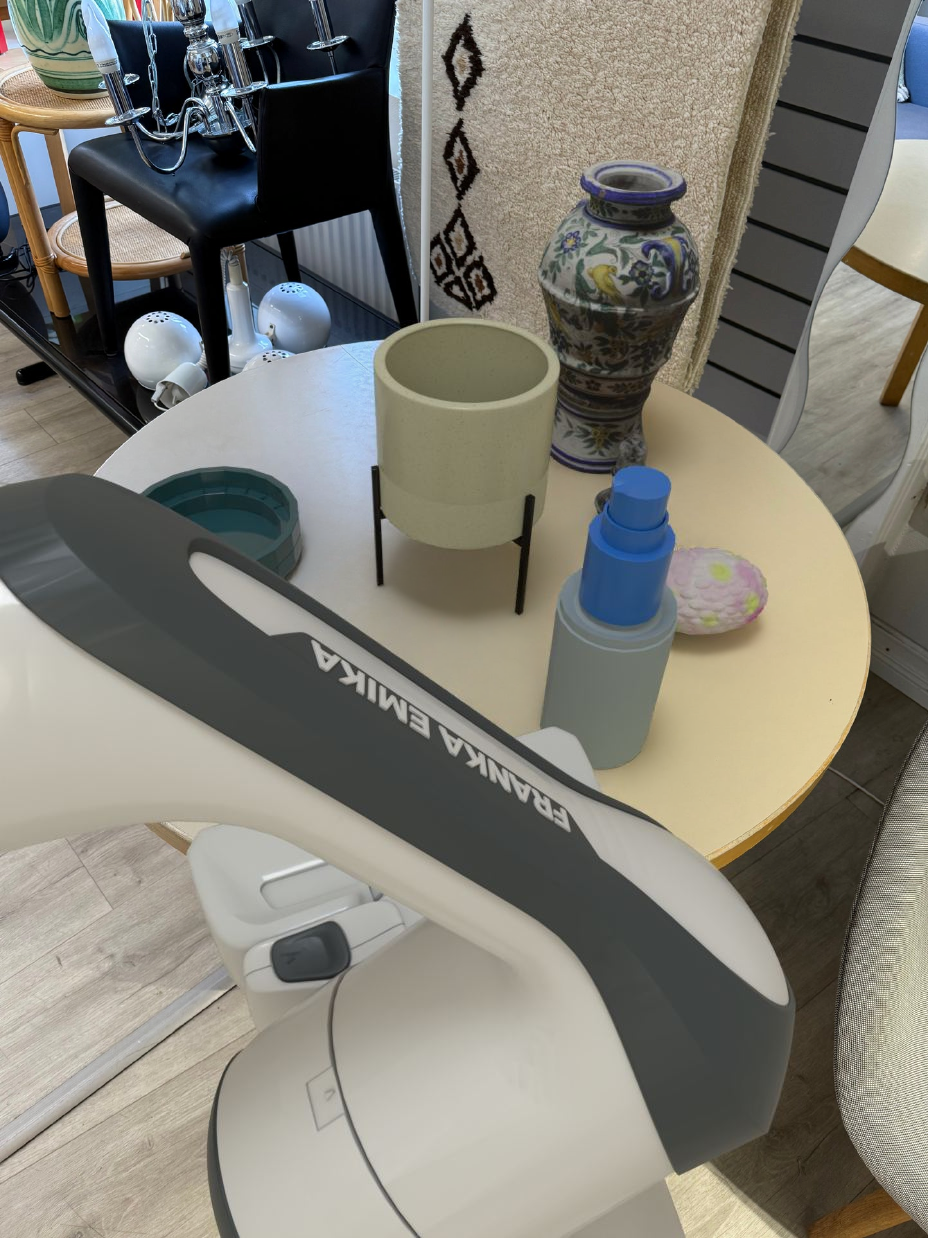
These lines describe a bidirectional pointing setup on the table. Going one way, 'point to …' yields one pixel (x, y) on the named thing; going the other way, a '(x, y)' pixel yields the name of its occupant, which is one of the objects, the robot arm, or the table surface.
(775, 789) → the table surface
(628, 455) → the salt shaker
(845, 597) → the table surface
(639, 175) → the vase
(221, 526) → the dish
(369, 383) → the table surface
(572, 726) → the spray bottle
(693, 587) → the decorative item
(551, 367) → the planter
